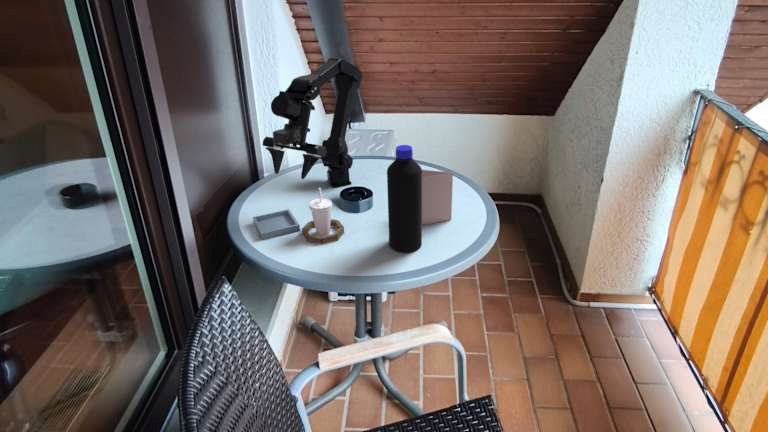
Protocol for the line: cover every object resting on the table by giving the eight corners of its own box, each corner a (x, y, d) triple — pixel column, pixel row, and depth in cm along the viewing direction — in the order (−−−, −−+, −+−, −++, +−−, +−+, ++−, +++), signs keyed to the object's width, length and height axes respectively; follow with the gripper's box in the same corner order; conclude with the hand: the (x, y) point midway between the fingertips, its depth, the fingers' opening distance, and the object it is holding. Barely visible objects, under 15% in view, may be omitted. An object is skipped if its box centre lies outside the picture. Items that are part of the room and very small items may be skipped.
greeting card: (451, 218, 159) (453, 171, 152) (446, 230, 153) (448, 182, 146) (414, 213, 162) (414, 167, 155) (407, 225, 156) (407, 178, 149)
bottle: (425, 238, 149) (426, 143, 136) (416, 255, 142) (416, 156, 129) (395, 234, 152) (392, 140, 139) (384, 250, 145) (381, 152, 131)
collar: (335, 220, 160) (334, 215, 159) (348, 237, 151) (348, 232, 150) (299, 229, 156) (298, 223, 155) (310, 247, 147) (310, 241, 146)
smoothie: (336, 228, 156) (332, 184, 149) (332, 239, 150) (328, 194, 144) (314, 227, 157) (310, 183, 150) (309, 239, 151) (304, 194, 144)
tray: (289, 214, 164) (288, 209, 163) (300, 230, 155) (299, 224, 154) (253, 223, 160) (252, 217, 159) (262, 240, 151) (261, 233, 150)
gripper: (255, 113, 152) (245, 168, 153) (310, 121, 144) (300, 179, 145) (278, 120, 162) (269, 172, 163) (331, 128, 154) (322, 182, 155)
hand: (289, 176), depth 156 cm, fingers open, 9 cm apart
